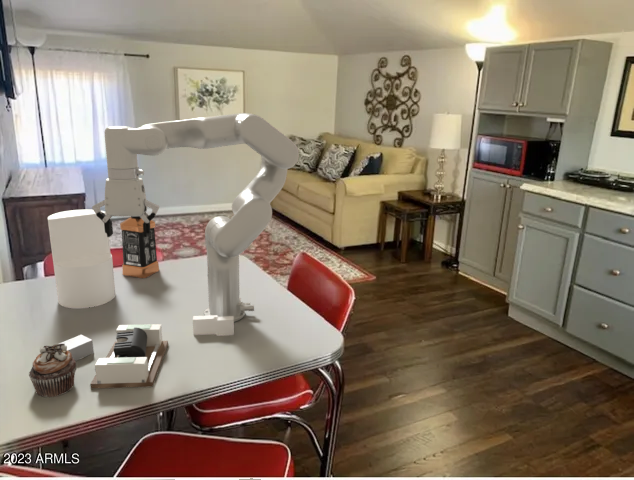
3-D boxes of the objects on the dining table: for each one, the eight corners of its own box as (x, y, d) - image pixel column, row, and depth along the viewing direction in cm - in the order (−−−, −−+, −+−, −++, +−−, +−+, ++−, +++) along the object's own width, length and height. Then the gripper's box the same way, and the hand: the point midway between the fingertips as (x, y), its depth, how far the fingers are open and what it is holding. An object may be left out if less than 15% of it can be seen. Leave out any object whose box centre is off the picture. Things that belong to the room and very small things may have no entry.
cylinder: (51, 295, 162) (41, 213, 154) (105, 283, 173) (97, 207, 165) (67, 313, 150) (56, 225, 142) (123, 299, 161) (116, 217, 153)
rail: (161, 340, 133) (161, 338, 133) (145, 382, 114) (145, 379, 114) (121, 341, 132) (120, 339, 132) (97, 383, 113) (97, 380, 113)
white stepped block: (181, 336, 139) (180, 318, 138) (207, 321, 149) (207, 304, 147) (223, 350, 133) (222, 331, 131) (247, 334, 142) (247, 316, 141)
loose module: (93, 353, 129) (92, 340, 127) (64, 366, 122) (62, 352, 121) (82, 347, 131) (81, 334, 130) (53, 360, 125) (51, 346, 124)
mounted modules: (162, 340, 133) (161, 323, 132) (145, 382, 114) (144, 362, 113) (120, 341, 132) (119, 324, 131) (97, 383, 113) (94, 364, 112)
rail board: (168, 344, 134) (167, 340, 134) (152, 386, 115) (152, 382, 115) (115, 345, 132) (114, 341, 132) (90, 388, 113) (90, 384, 113)
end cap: (146, 369, 120) (144, 344, 118) (115, 372, 118) (113, 347, 116) (148, 349, 129) (146, 325, 127) (119, 351, 127) (117, 328, 125)
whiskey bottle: (160, 270, 188) (155, 188, 179) (144, 279, 179) (138, 193, 170) (137, 266, 191) (131, 186, 182) (120, 275, 182) (113, 190, 172)
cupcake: (30, 382, 115) (24, 344, 112) (75, 371, 120) (71, 335, 117) (32, 404, 107) (26, 364, 104) (80, 391, 112) (76, 353, 109)
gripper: (159, 172, 134) (163, 232, 139) (93, 171, 132) (99, 231, 137) (154, 177, 126) (157, 239, 131) (84, 175, 124) (91, 239, 129)
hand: (128, 235), depth 134 cm, fingers open, 9 cm apart
